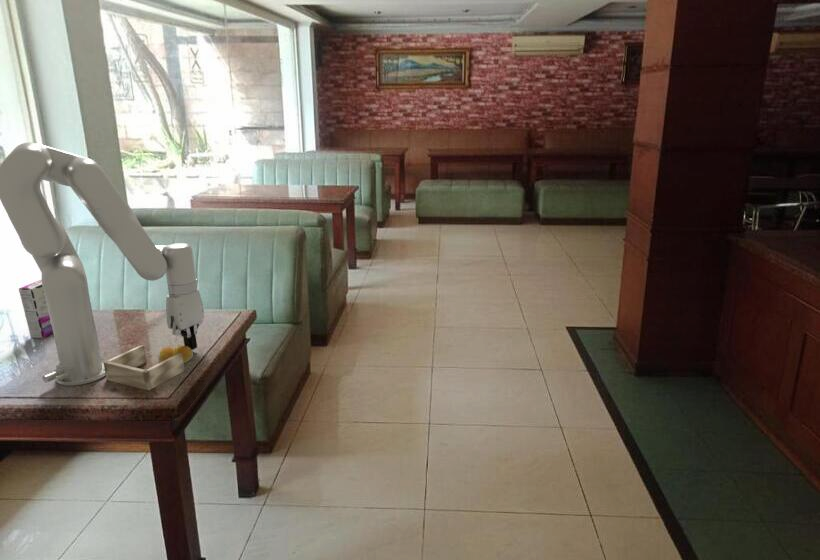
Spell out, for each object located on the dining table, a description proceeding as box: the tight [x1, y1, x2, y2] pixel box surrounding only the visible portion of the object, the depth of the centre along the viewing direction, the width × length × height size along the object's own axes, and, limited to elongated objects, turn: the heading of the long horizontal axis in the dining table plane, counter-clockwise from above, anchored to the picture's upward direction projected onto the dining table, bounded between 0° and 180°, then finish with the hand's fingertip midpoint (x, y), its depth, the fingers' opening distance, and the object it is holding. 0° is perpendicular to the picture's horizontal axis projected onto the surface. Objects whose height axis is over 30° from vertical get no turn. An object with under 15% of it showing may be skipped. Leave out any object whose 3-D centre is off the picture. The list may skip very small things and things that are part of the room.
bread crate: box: [102, 344, 186, 391], centre depth 152 cm, size 12×15×5 cm
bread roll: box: [158, 345, 194, 364], centre depth 162 cm, size 8×9×4 cm
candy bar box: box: [18, 279, 54, 339], centre depth 181 cm, size 11×5×16 cm, turn 170°
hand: (191, 348), depth 167 cm, fingers closed
